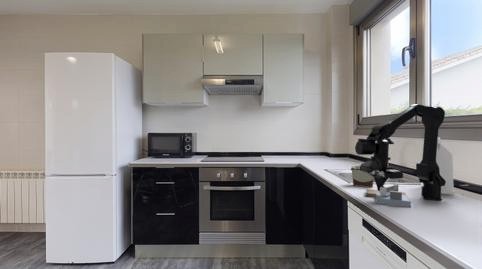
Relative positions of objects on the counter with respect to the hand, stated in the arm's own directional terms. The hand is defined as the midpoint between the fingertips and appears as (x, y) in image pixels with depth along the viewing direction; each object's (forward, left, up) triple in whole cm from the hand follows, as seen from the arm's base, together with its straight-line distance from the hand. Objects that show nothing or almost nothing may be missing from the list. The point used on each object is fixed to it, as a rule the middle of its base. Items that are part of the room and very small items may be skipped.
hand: (379, 190), depth 122 cm
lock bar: (-4, -2, -1) cm, 5 cm away
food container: (+7, -29, -4) cm, 30 cm away
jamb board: (-3, -8, -4) cm, 9 cm away
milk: (-26, -31, -4) cm, 41 cm away
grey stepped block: (-5, +2, -4) cm, 7 cm away
